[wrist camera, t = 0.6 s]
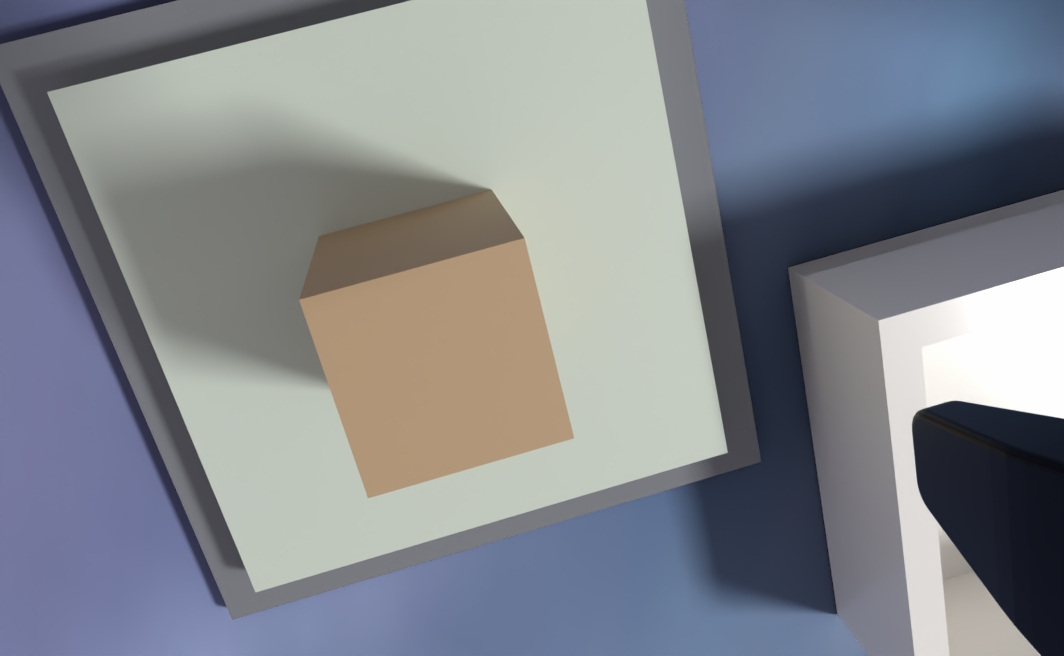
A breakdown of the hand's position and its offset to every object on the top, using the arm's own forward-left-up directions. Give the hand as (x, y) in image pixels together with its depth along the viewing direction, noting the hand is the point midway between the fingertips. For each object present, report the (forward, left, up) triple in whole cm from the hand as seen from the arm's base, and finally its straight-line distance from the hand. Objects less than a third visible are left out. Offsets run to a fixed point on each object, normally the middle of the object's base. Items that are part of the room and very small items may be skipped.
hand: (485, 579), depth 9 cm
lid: (0, 0, -11) cm, 11 cm away
